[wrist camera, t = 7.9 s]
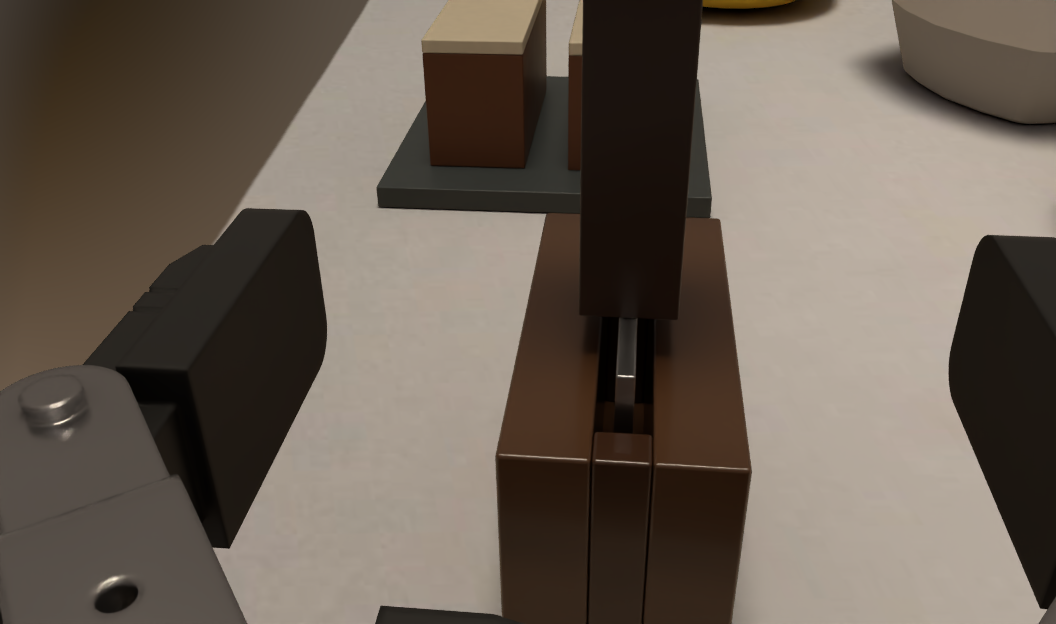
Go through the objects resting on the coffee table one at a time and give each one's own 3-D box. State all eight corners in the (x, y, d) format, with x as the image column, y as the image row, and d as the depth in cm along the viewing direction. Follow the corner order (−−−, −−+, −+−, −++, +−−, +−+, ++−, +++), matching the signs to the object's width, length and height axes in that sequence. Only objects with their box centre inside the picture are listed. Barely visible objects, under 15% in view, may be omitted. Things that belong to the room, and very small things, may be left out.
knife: (661, 619, 24) (708, 30, 16) (569, 613, 24) (574, 29, 17) (659, 414, 30) (693, -68, 23) (588, 410, 31) (598, -68, 23)
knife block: (720, 706, 23) (752, 470, 19) (504, 688, 23) (494, 455, 20) (701, 413, 32) (720, 217, 28) (547, 405, 33) (546, 211, 29)
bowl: (809, 61, 63) (830, -98, 58) (1034, 30, 68) (1071, -119, 63) (1015, 165, 48) (1067, -35, 43) (1281, 116, 53) (1354, -68, 48)
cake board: (710, 218, 44) (711, 197, 44) (378, 207, 46) (376, 187, 45) (697, 95, 58) (698, 79, 57) (441, 90, 59) (440, 74, 59)
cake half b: (525, 169, 46) (522, 41, 43) (430, 166, 47) (420, 39, 44) (546, 90, 56) (546, -20, 53) (467, 88, 56) (462, -21, 53)
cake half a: (665, 173, 46) (673, 43, 43) (567, 170, 46) (568, 42, 43) (663, 93, 55) (669, -18, 52) (582, 91, 56) (583, -19, 52)
